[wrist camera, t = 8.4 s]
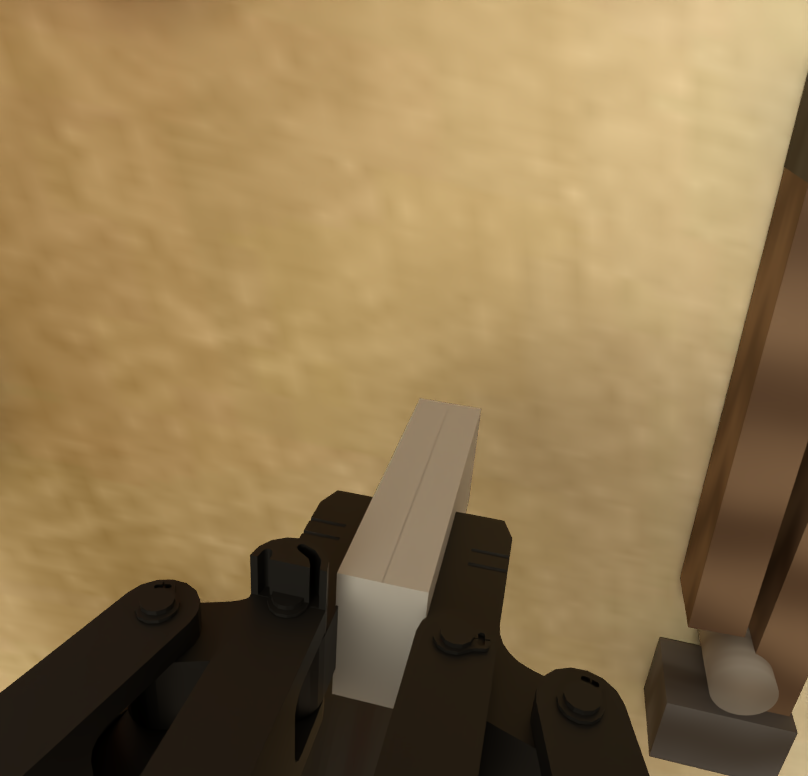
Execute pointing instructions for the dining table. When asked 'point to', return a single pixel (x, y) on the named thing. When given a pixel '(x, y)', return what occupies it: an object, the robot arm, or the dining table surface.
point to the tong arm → (757, 421)
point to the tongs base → (740, 670)
